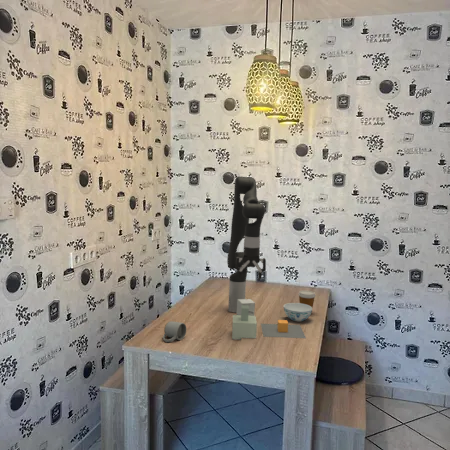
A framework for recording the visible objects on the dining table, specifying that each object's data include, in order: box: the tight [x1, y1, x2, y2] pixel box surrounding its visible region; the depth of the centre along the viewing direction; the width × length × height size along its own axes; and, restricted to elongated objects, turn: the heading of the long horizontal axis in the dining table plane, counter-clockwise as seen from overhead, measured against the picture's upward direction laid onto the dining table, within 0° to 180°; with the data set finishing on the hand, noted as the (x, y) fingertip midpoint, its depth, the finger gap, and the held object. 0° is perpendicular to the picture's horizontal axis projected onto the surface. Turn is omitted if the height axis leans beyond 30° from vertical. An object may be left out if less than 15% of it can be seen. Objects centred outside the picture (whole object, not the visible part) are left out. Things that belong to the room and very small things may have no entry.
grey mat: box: [260, 323, 307, 339], centre depth 212 cm, size 20×18×1 cm
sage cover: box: [231, 305, 258, 341], centre depth 205 cm, size 11×11×14 cm
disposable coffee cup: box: [298, 289, 316, 316], centre depth 243 cm, size 10×10×12 cm
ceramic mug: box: [162, 320, 187, 343], centre depth 198 cm, size 11×8×8 cm
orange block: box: [277, 319, 289, 332], centre depth 212 cm, size 4×4×4 cm
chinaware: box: [283, 302, 313, 323], centre depth 229 cm, size 15×15×8 cm
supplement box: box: [236, 298, 256, 316], centre depth 220 cm, size 7×7×13 cm
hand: (250, 279), depth 206 cm, fingers open, 8 cm apart
